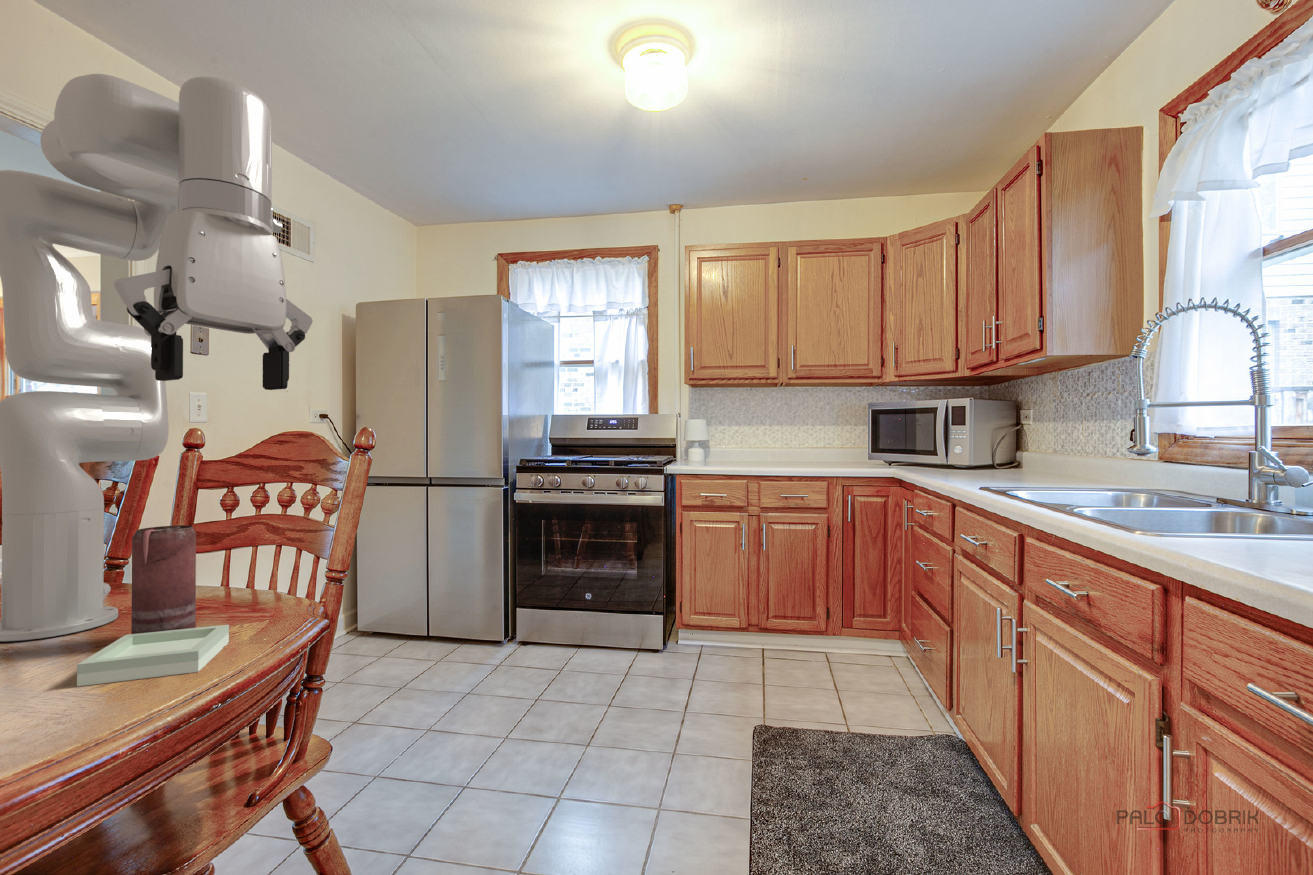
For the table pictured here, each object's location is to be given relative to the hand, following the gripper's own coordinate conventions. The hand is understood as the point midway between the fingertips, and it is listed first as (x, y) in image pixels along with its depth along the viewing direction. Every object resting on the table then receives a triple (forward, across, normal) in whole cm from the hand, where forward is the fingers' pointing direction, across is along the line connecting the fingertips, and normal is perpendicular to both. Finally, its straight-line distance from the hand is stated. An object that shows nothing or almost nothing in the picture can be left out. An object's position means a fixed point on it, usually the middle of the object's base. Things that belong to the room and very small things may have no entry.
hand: (225, 384), depth 58 cm
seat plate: (+30, -1, -14) cm, 33 cm away
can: (+30, -6, -23) cm, 39 cm away
